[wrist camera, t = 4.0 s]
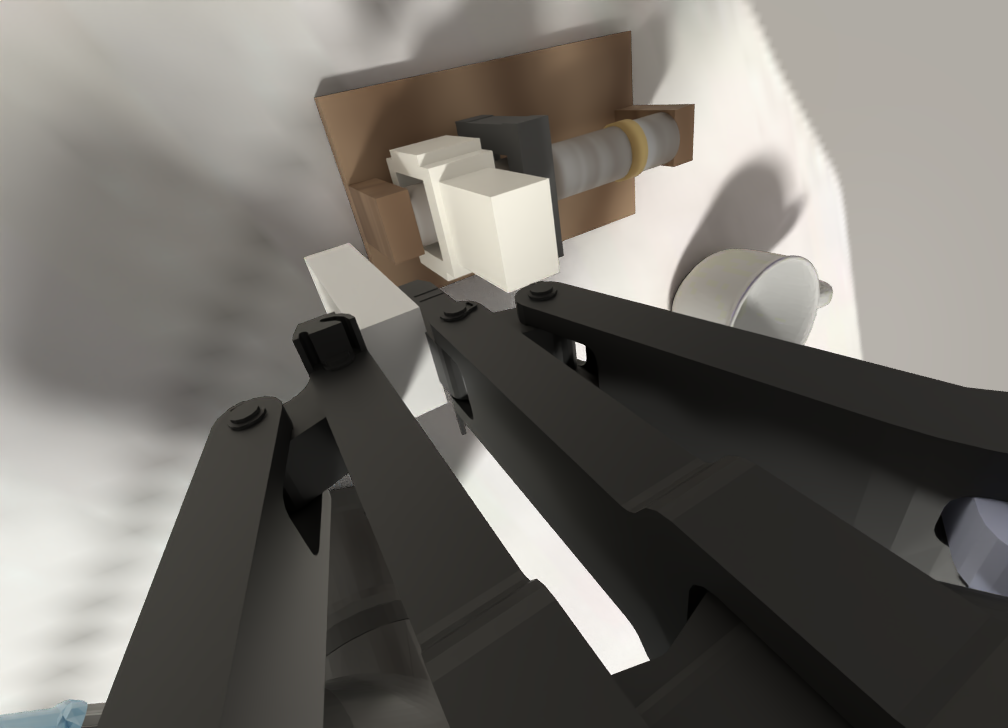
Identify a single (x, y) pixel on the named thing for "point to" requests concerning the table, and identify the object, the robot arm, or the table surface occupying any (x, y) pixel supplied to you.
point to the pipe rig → (504, 92)
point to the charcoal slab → (518, 148)
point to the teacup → (755, 293)
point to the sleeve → (480, 213)
